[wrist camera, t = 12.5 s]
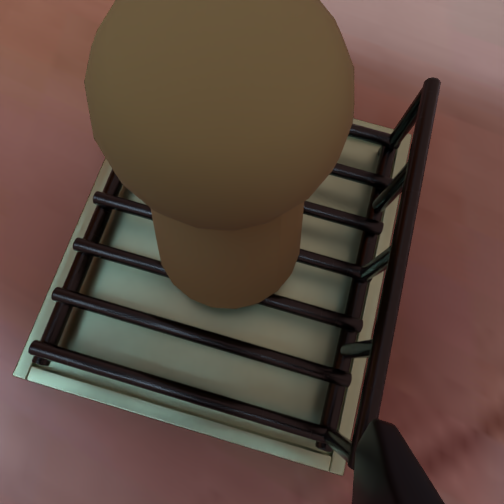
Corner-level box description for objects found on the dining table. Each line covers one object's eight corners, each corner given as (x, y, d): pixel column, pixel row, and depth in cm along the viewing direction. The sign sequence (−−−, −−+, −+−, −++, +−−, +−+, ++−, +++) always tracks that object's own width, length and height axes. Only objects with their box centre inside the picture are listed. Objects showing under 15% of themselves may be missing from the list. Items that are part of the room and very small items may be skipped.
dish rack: (336, 469, 17) (390, 527, 11) (26, 374, 18) (-84, 381, 12) (402, 146, 21) (469, 61, 15) (150, 77, 22) (118, -32, 16)
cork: (137, 201, 17) (-17, -51, 7) (265, 153, 18) (308, -138, 8) (188, 333, 16) (95, 275, 5) (324, 274, 17) (476, 126, 6)
